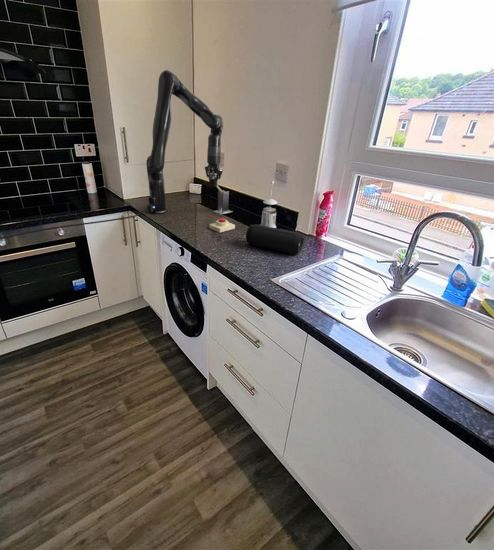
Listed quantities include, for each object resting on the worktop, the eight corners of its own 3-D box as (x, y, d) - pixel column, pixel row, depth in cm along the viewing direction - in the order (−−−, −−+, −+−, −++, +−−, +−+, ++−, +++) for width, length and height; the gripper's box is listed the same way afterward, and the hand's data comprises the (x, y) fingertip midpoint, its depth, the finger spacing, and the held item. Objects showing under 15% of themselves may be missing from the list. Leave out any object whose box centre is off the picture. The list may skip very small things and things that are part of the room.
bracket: (221, 216, 188) (221, 193, 182) (212, 213, 193) (213, 190, 187) (232, 213, 194) (234, 191, 188) (224, 210, 199) (225, 188, 193)
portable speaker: (302, 251, 144) (305, 230, 140) (296, 258, 137) (299, 237, 132) (252, 239, 155) (254, 220, 150) (244, 246, 147) (245, 226, 142)
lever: (211, 182, 177) (214, 178, 177) (208, 181, 179) (211, 177, 179) (224, 198, 188) (227, 194, 188) (221, 197, 190) (224, 192, 190)
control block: (219, 232, 163) (219, 225, 161) (209, 228, 168) (209, 221, 167) (234, 228, 169) (235, 221, 167) (224, 224, 175) (224, 217, 173)
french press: (277, 224, 178) (282, 180, 166) (274, 230, 168) (280, 184, 156) (260, 222, 180) (264, 178, 168) (257, 228, 170) (261, 182, 158)
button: (221, 223, 165) (222, 220, 164) (217, 221, 167) (217, 218, 166) (226, 222, 167) (227, 219, 166) (222, 220, 169) (222, 217, 168)
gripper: (201, 153, 175) (200, 184, 183) (217, 156, 165) (215, 188, 173) (211, 152, 179) (210, 183, 187) (227, 155, 170) (225, 187, 178)
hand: (213, 185), depth 180 cm, fingers closed on lever, 3 cm apart
